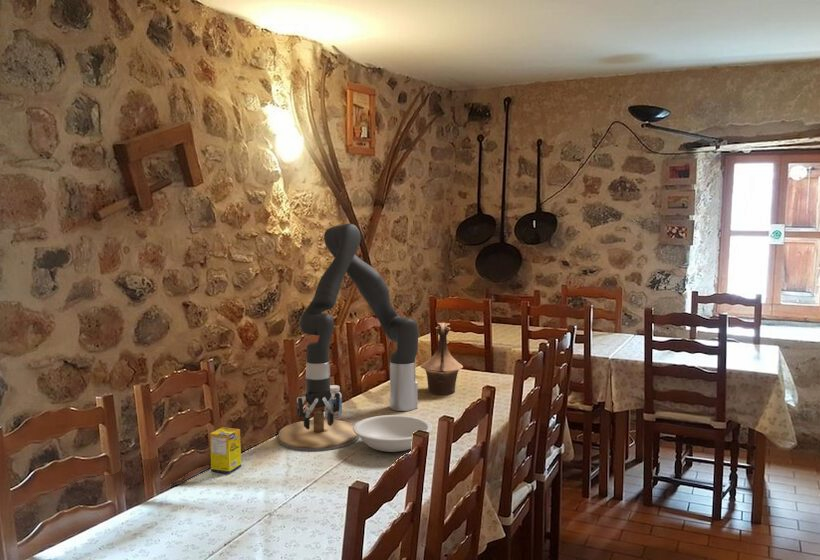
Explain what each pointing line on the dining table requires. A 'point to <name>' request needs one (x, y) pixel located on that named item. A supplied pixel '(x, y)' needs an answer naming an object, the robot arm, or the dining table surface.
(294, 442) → the lid
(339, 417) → the pill bottle
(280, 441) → the disc
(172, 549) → the dining table surface
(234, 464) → the supplement box
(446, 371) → the pot with conical top
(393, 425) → the soup bowl
